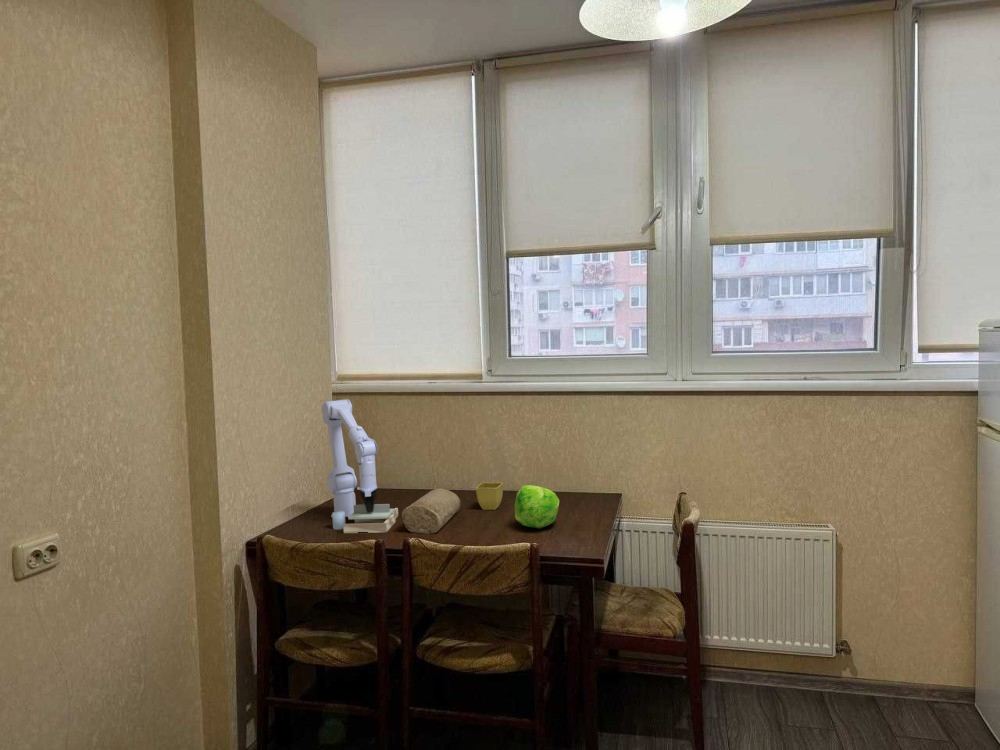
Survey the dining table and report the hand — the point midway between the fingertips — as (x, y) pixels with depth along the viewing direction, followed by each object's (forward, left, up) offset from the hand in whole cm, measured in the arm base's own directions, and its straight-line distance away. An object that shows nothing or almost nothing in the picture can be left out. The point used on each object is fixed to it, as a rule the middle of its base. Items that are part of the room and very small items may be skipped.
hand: (370, 511), depth 236 cm
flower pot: (-19, +41, -5) cm, 46 cm away
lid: (-2, 0, -2) cm, 2 cm away
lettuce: (+5, +60, -5) cm, 60 cm away
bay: (-1, 0, -5) cm, 5 cm away
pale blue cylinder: (+2, -11, -5) cm, 12 cm away
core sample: (-1, +22, -5) cm, 23 cm away
